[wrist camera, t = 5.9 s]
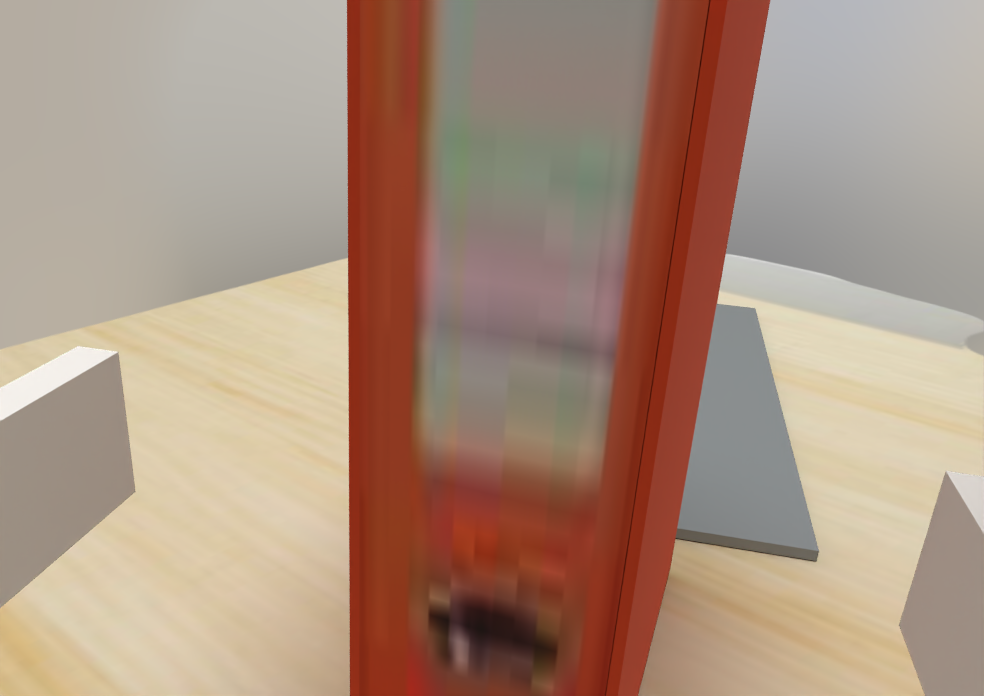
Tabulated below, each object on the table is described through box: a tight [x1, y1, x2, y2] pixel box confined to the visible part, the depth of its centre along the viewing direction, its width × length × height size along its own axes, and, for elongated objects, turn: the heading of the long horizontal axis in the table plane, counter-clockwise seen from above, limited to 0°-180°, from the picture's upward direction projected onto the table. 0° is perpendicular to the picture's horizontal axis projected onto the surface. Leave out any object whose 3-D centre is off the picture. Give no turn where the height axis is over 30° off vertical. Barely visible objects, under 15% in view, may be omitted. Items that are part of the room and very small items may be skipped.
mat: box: [676, 304, 819, 561], centre depth 60 cm, size 24×38×1 cm, turn 168°
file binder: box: [347, 0, 770, 696], centre depth 27 cm, size 8×17×32 cm, turn 160°
